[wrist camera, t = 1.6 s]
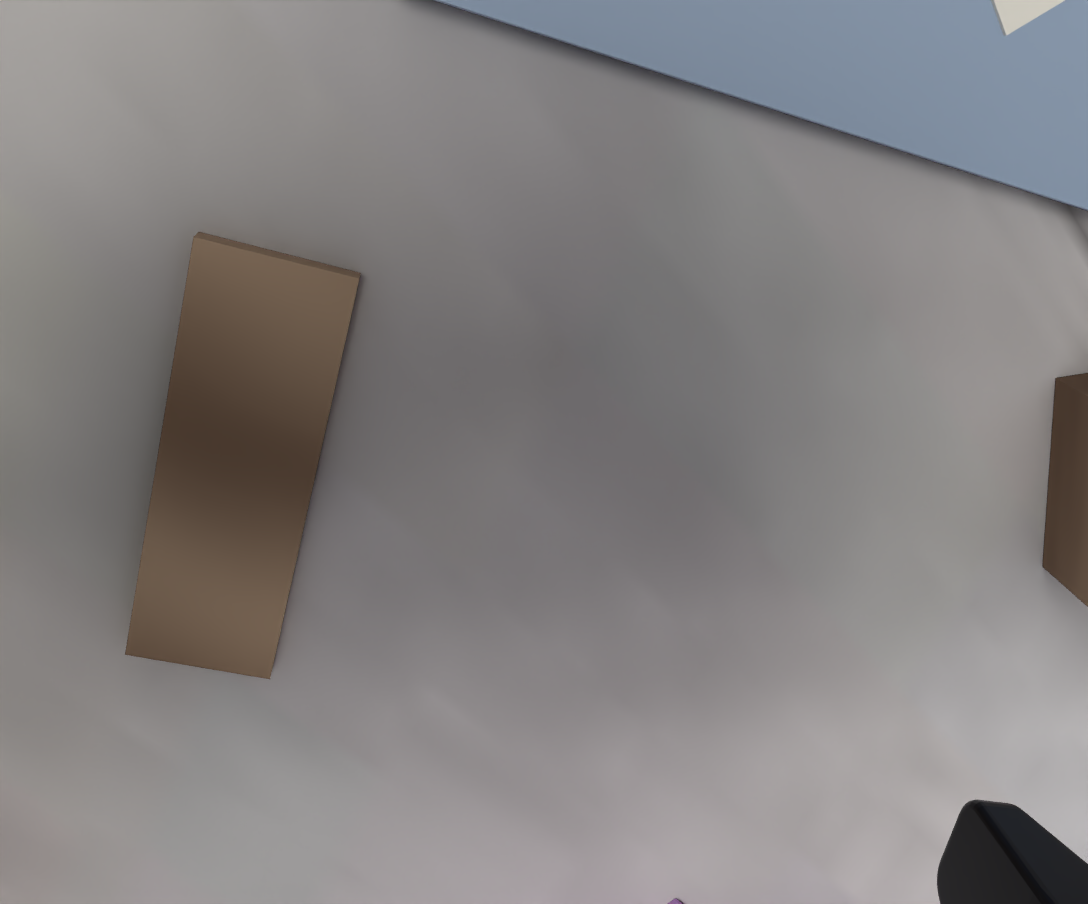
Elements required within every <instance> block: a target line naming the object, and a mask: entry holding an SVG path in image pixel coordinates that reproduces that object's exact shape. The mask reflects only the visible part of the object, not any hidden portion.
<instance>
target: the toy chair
mask: <svg viewBox="0 0 1088 904" xmlns="http://www.w3.org/2000/svg"><path fill="white" fill-rule="evenodd" d="M668 904H683V903H681V902H680V901H679V900H677V899H674V900H672V901H671V902H669V903H668Z"/></svg>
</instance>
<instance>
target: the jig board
mask: <svg viewBox="0 0 1088 904" xmlns="http://www.w3.org/2000/svg"><path fill="white" fill-rule="evenodd" d="M434 1H437V2H440V3H443V4H446V5H449V6H452V7H456V8H459V9H462V10H465V11H468V12H471V13H474V14H477V15H480V16H484V17H487V18H490V19H493V20H496V21H499V22H502V23H505V24H508V25H511V26H515V27H518V28H521V29H524V30H527V31H530V32H533V33H536V34H539V35H543V36H546V37H549V38H552V39H555V40H558V41H561V42H564V43H567V44H570V45H574V46H577V47H580V48H583V49H586V50H589V51H592V52H595V53H598V54H602V55H605V56H608V57H611V58H614V59H617V60H620V61H623V62H626V63H629V64H633V65H636V66H639V67H642V68H645V69H648V70H651V71H654V72H657V73H660V74H664V75H667V76H670V77H673V78H676V79H679V80H682V81H685V82H688V83H692V84H695V85H698V86H701V87H704V88H707V89H710V90H713V91H716V92H719V93H723V94H726V95H729V96H732V97H735V98H738V99H741V100H744V101H747V102H751V103H754V104H757V105H760V106H763V107H766V108H769V109H772V110H775V111H778V112H782V113H785V114H788V115H791V116H794V117H797V118H800V119H803V120H806V121H810V122H813V123H816V124H819V125H822V126H825V127H828V128H831V129H834V130H837V131H841V132H844V133H847V134H850V135H853V136H856V137H859V138H862V139H865V140H868V141H872V142H875V143H878V144H881V145H884V146H887V147H890V148H893V149H896V150H900V151H903V152H906V153H909V154H912V155H915V156H918V157H921V158H924V159H927V160H931V161H934V162H937V163H940V164H943V165H946V166H949V167H952V168H955V169H959V170H962V171H965V172H968V173H971V174H974V175H977V176H980V177H983V178H986V179H990V180H993V181H996V182H999V183H1002V184H1005V185H1008V186H1011V187H1014V188H1018V189H1021V190H1024V191H1027V192H1030V193H1033V194H1036V195H1039V196H1042V197H1045V198H1049V199H1052V200H1055V201H1058V202H1061V203H1064V204H1067V205H1070V206H1073V207H1076V208H1080V209H1083V210H1086V211H1088V0H434Z"/></svg>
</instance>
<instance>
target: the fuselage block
mask: <svg viewBox="0 0 1088 904" xmlns="http://www.w3.org/2000/svg"><path fill="white" fill-rule="evenodd" d="M1043 568H1045V569H1046V570H1047V571H1048V572H1049V573H1050V574H1051V575H1052V576H1054V577H1055V578H1056V579H1057V580H1058V581H1059V582H1060V583H1062V584H1063V585H1064V586H1065V587H1066V588H1067V589H1068V590H1069V591H1071V592H1072V593H1073V594H1074V595H1075V596H1076V597H1077V598H1078V599H1080V600H1081V601H1082V602H1083V603H1084V604H1085V605H1086V606H1088V373H1084V374H1078V375H1072V376H1066V377H1059V378H1056V381H1055V396H1054V410H1053V425H1052V439H1051V453H1050V468H1049V482H1048V496H1047V511H1046V525H1045V540H1044V554H1043Z"/></svg>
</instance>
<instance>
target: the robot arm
mask: <svg viewBox="0 0 1088 904" xmlns="http://www.w3.org/2000/svg"><path fill="white" fill-rule="evenodd" d="M937 888H938V895H939V900H940V904H1088V864H1087V863H1086V862H1085V861H1083V860H1082V859H1081V858H1080V857H1079V856H1077V855H1076V854H1075V853H1074V852H1072V851H1071V850H1070V849H1069V848H1068V847H1066V846H1065V845H1064V844H1063V843H1062V842H1060V841H1059V840H1058V839H1057V838H1056V837H1054V836H1053V835H1052V834H1051V833H1050V832H1048V831H1047V830H1046V829H1045V828H1043V827H1042V826H1041V825H1040V824H1039V823H1037V822H1036V821H1035V820H1034V819H1033V818H1031V817H1030V816H1029V815H1028V814H1027V813H1025V812H1024V811H1023V810H1021V809H1020V808H1019V807H1017V806H1015V805H1013V804H1009V803H1002V802H993V801H984V800H972V801H969V802H968V803H966V804H965V805H964V806H963V808H962V810H961V812H960V814H959V816H958V819H957V821H956V824H955V826H954V828H953V831H952V833H951V836H950V838H949V841H948V843H947V846H946V848H945V851H944V853H943V856H942V858H941V861H940V864H939V868H938V873H937Z"/></svg>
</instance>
